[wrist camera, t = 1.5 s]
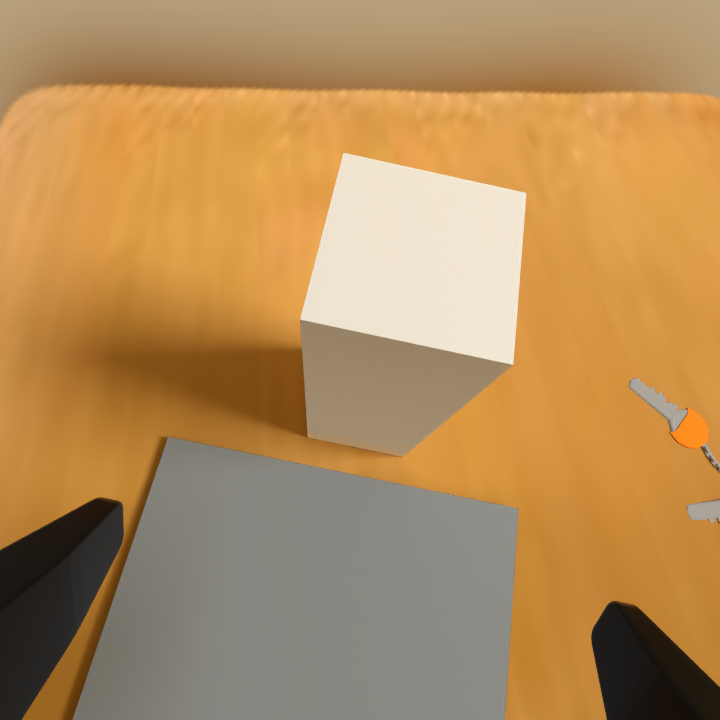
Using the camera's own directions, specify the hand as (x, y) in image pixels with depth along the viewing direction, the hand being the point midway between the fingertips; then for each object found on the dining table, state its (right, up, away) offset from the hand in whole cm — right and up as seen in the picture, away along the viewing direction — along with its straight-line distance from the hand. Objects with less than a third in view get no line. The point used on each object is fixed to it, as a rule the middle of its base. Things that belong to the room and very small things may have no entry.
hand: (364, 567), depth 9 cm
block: (0, +2, +14) cm, 14 cm away
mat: (-2, -9, +10) cm, 13 cm away
